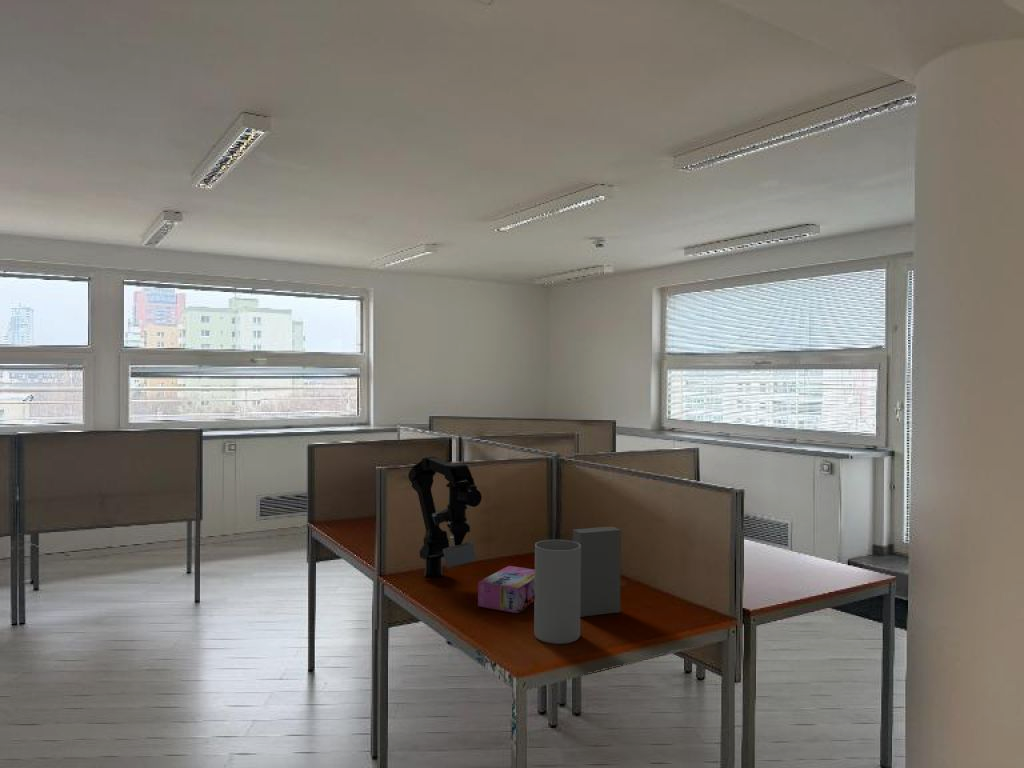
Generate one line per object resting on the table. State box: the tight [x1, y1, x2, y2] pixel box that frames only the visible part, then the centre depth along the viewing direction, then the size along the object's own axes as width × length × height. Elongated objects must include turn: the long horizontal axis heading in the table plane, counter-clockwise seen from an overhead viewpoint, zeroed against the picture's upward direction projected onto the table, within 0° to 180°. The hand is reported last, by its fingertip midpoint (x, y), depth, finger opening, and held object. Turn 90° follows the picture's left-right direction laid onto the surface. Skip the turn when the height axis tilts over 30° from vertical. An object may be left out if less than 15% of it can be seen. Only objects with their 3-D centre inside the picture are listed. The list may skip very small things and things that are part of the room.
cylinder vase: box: [533, 539, 581, 645], centre depth 194 cm, size 12×12×25 cm
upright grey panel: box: [572, 526, 622, 618], centre depth 215 cm, size 14×6×25 cm, turn 111°
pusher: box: [443, 533, 477, 569], centre depth 238 cm, size 10×10×7 cm
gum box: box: [477, 565, 535, 614], centre depth 226 cm, size 24×8×14 cm
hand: (456, 547), depth 242 cm, fingers closed on pusher, 3 cm apart
